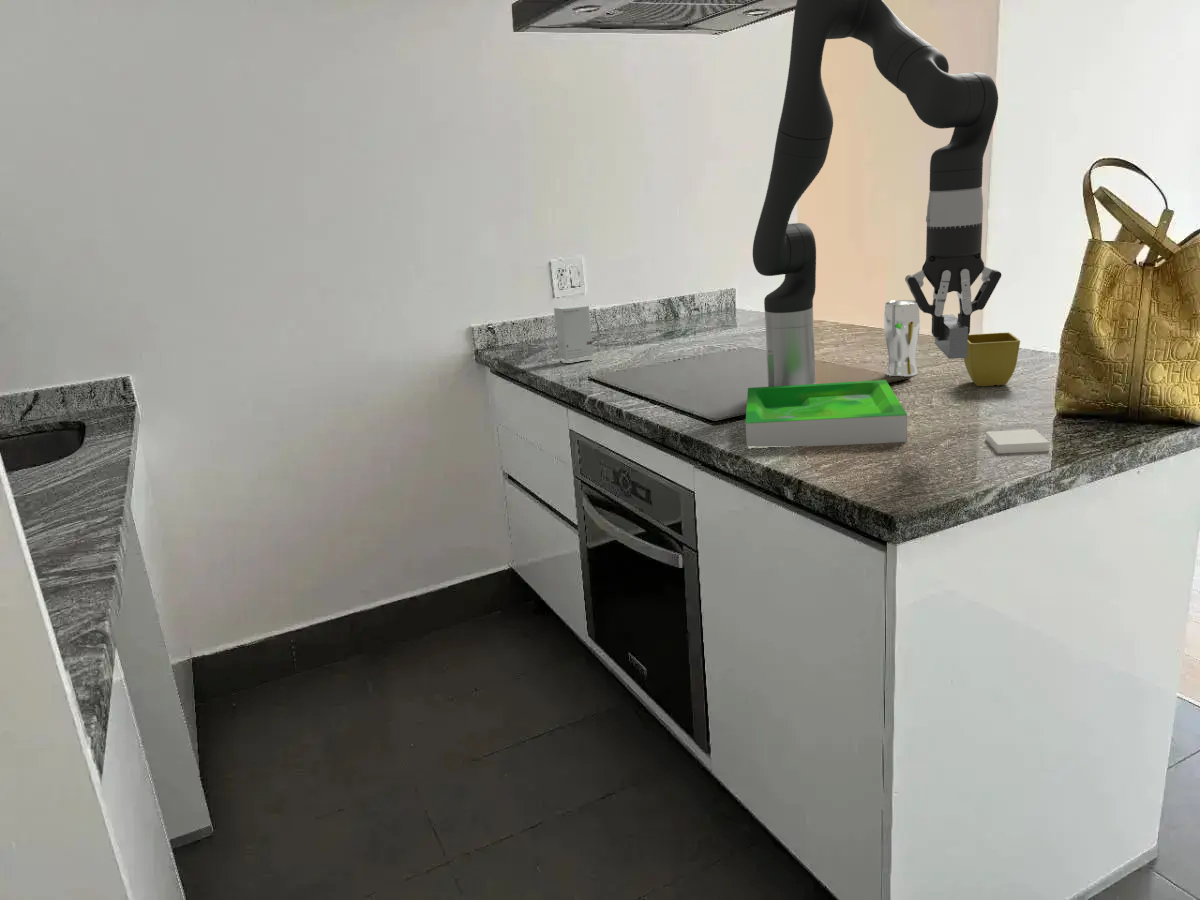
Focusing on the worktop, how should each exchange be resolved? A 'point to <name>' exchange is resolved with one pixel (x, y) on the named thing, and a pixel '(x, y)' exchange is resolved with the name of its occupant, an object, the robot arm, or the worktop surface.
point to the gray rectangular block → (953, 338)
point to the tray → (825, 414)
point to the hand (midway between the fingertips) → (950, 338)
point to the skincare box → (573, 331)
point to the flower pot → (991, 358)
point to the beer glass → (902, 336)
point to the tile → (1017, 441)
